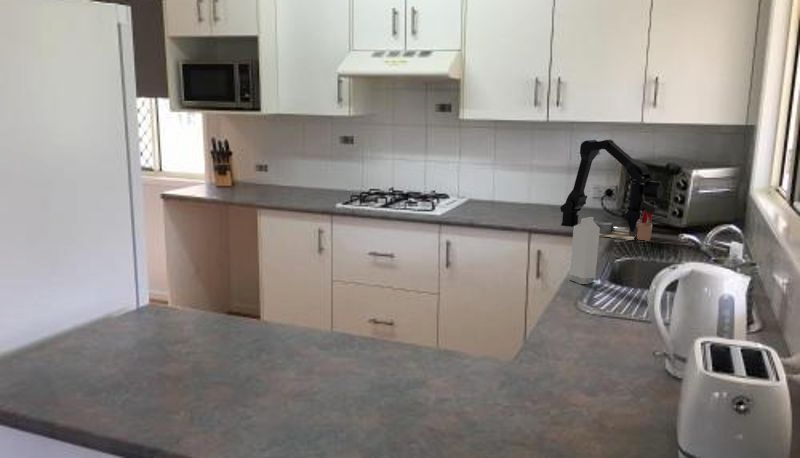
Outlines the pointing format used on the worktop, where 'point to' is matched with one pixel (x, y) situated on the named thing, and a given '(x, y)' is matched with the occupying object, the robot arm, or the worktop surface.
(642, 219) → the soda can
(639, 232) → the socket block
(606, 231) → the sleeve mount
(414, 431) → the worktop surface
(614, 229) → the hammer
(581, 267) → the milk
